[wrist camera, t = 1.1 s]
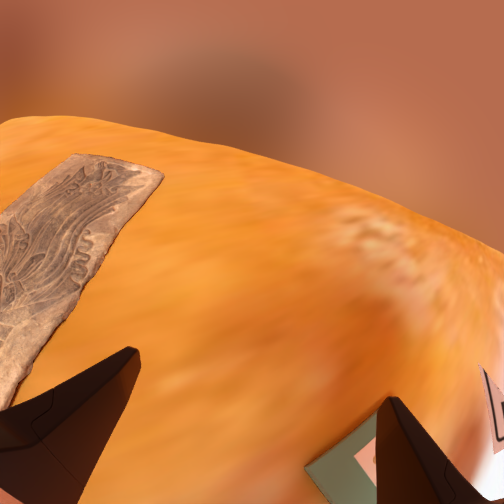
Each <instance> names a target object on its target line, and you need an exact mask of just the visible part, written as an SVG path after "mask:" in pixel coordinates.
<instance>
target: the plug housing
mask: <svg viewBox="0 0 504 504" xmlns="http://www.w3.org/2000/svg"><path fill="white" fill-rule="evenodd" d="M492 502H496V503H502V504H504V498H502V499H498V500H494V501H492Z"/></svg>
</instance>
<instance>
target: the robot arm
mask: <svg viewBox="0 0 504 504" xmlns="http://www.w3.org/2000/svg"><path fill="white" fill-rule="evenodd" d="M140 369H141V360H140V353H139V350H138V349H136V348H133V347H130V346H128V347H125V348H124V349H122V350H120V351H118V352H116V353H115V354H113V355H111V356H109V357H108V358H106V359H104V360H102V361H101V362H99V363H97V364H95V365H93V366H92V367H90V368H88V369H86V370H85V371H83V372H81V373H79V374H77V375H76V376H74V377H72V378H70V379H68V380H67V381H65V382H63V383H61V384H59V385H57V386H56V387H54V388H52V389H50V390H48V391H46V392H44V393H43V394H41V395H39V396H37V397H35V398H32V399H30V400H28V401H25V402H23V403H20V404H18V405H15V406H13V407H10V408H7V409H5V410H2V411H0V504H77V503H78V501H79V499H80V497H81V495H82V493H83V490H84V487H85V486H86V484H87V482H88V480H89V478H90V476H91V474H92V472H93V470H94V468H95V466H96V464H97V462H98V460H99V458H100V456H101V454H102V452H103V450H104V448H105V446H106V444H107V442H108V440H109V438H110V436H111V434H112V432H113V430H114V428H115V426H116V424H117V422H118V420H119V419H120V417H121V415H122V413H123V411H124V409H125V407H126V405H127V403H128V400H129V398H130V395H131V393H132V390H133V387H134V385H135V382H136V380H137V377H138V375H139V372H140ZM375 457H376V489H377V504H502V503H496V502H492V501H489V500H487V499H486V498H484V497H483V496H482V495H481V494H480V493H479V492H478V491H477V490H476V489H475V488H474V487H473V486H472V485H471V484H470V483H469V482H468V481H467V480H466V479H465V478H464V477H463V476H462V475H461V474H460V472H459V471H458V470H457V469H456V468H455V466H454V465H453V464H452V463H451V461H450V460H449V459H448V458H447V456H446V455H445V454H444V453H443V451H442V450H441V449H440V448H439V446H438V445H437V444H436V443H435V441H434V440H433V439H432V438H431V436H430V435H429V434H428V433H427V432H426V430H425V429H424V428H423V427H422V425H421V424H420V423H419V422H418V420H417V419H416V418H415V417H414V416H413V414H412V413H411V412H410V411H409V409H408V408H407V407H406V406H405V405H404V403H403V402H402V401H401V400H400V398H398V397H394V396H389V397H387V398H386V399H385V401H384V402H383V403H382V405H381V406H380V407H379V409H378V411H377V418H376V441H375Z"/></svg>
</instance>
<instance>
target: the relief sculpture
mask: <svg viewBox="0 0 504 504" xmlns="http://www.w3.org/2000/svg"><path fill="white" fill-rule="evenodd" d="M163 178H164V174H163V173H161V172H160V171H158V170H155V169H151V168H149V167H146V166H142V165H138V164H134V163H131V162H127V161H123V160H119V159H115V158H112V157H104V156H100V155H90V154H72V155H71V156H70V157H69V158H67V159H66V160H65V161H64V162H62V163H61V164H59V165H58V166H57V167H56V168H54V169H52V170H51V171H50V172H49V173H47V174H46V175H45V176H44V177H42V178H41V179H40V180H38V181H37V182H36V183H35V184H33V185H32V186H31V187H30V188H29V189H28V190H27V191H26V192H25V193H24V194H23V195H21V196H20V197H19V198H18V199H17V200H15V201H14V202H13V203H12V204H11V205H9V206H8V207H7V208H6V209H5V210H4V211H3V213H2V214H0V411H2V410H5V409H7V408H8V406H9V404H10V403H11V402H10V401H11V399H12V398H13V394H14V393H15V388H16V387H17V386H18V382H20V381H21V380H22V379H23V378H24V377H25V376H27V375H28V374H29V373H30V372H31V370H32V368H33V360H34V359H35V358H36V356H37V354H38V352H39V351H40V349H41V346H43V345H44V344H45V343H46V341H47V340H48V339H49V337H50V335H51V334H52V332H53V331H54V329H55V328H56V327H57V326H58V325H59V324H60V323H61V322H62V321H63V320H65V319H66V318H67V317H68V316H69V314H70V313H71V312H72V310H73V309H74V307H75V306H76V305H77V302H78V300H79V297H80V293H81V290H82V288H83V286H84V285H85V283H86V282H88V281H89V280H90V279H91V278H92V277H93V276H94V275H96V272H97V270H98V269H99V267H100V265H101V264H102V263H103V261H104V255H105V254H106V253H107V250H108V248H109V246H110V245H111V244H112V243H113V240H114V239H115V238H116V236H117V235H118V232H119V231H120V229H121V228H122V227H123V225H124V224H125V223H126V222H127V221H128V220H129V219H130V218H131V217H132V216H133V215H134V214H135V213H136V212H137V211H138V210H139V209H140V207H141V206H142V205H143V204H144V203H145V202H146V199H147V198H148V197H149V196H150V195H151V194H152V192H153V191H154V190H155V189H156V188H157V187H158V186H159V184H160V183H161V181H162V180H163Z"/></svg>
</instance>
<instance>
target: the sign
mask: <svg viewBox="0 0 504 504" xmlns="http://www.w3.org/2000/svg"><path fill="white" fill-rule="evenodd" d="M478 365H479V369H480V373H481V377H482V381H483V386H484V391H485V395H486V401H487V406H488V412H489V418H490V424H491V432H492V440H493V450H494V454H496V453H498V452H499V451H501V450H503V449H504V395H503V394H502V392H501V391H500V390H499V388H498V387H497V386H496V384H495V383H494V382H493V381H492V379H491V378H490V377H489V375H488V374H487V373H486V372H485V370H484V369H483V368H482V367H481V365H480V364H479V363H478Z"/></svg>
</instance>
